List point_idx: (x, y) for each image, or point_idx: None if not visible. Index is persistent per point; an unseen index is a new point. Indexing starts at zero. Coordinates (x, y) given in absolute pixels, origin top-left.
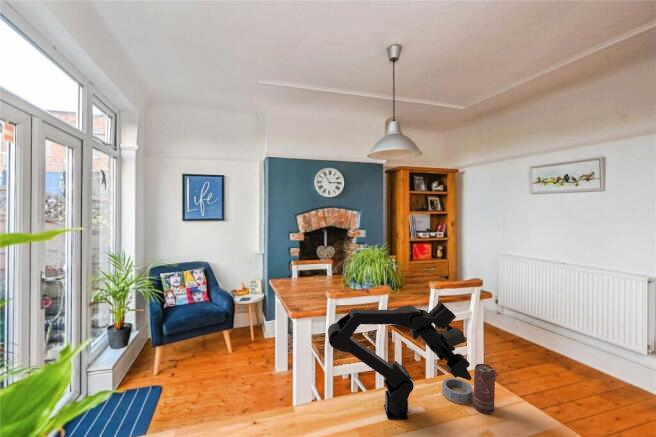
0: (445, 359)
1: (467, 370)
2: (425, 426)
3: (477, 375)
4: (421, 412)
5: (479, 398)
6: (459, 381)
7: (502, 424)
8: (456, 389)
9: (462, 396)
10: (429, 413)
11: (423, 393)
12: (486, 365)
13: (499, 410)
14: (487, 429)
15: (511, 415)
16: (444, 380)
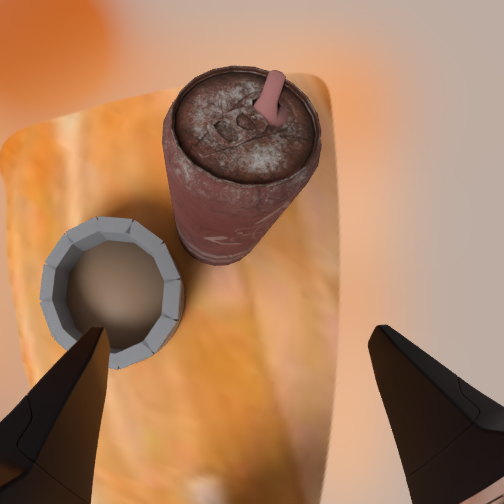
0: (93, 463)
1: (473, 390)
2: (300, 493)
3: (262, 213)
4: (227, 491)
5: (250, 246)
6: (68, 253)
7: (307, 211)
8: (92, 283)
9: (179, 304)
10: (234, 467)
11: (102, 440)
12: (197, 81)
13: None
14: (330, 283)
15: None
16: (56, 335)
